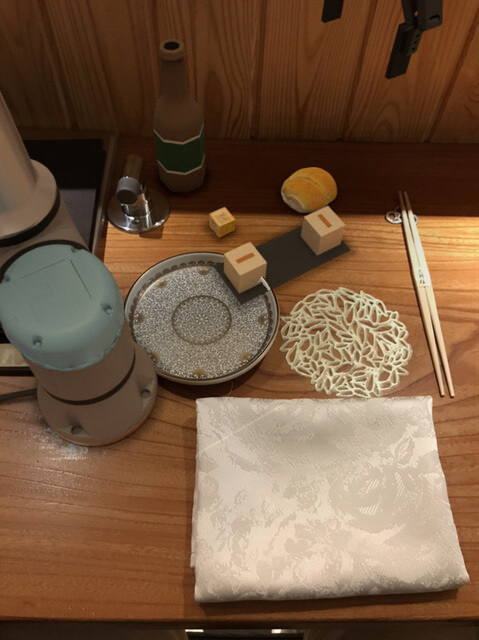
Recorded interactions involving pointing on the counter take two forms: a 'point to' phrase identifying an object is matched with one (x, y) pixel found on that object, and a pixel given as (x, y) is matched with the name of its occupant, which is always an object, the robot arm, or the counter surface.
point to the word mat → (284, 262)
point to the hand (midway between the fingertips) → (361, 46)
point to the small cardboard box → (244, 267)
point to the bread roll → (309, 190)
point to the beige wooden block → (322, 230)
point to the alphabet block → (221, 222)
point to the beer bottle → (178, 124)
